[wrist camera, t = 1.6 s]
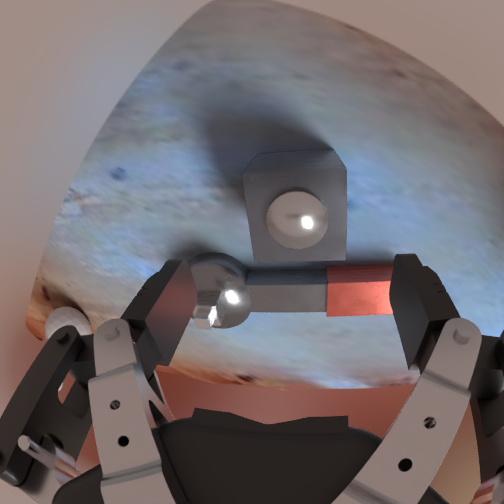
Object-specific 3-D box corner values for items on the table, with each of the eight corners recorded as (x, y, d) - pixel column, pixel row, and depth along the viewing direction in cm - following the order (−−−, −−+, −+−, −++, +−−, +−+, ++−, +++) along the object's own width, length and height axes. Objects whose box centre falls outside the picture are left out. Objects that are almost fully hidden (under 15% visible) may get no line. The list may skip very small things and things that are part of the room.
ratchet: (404, 247, 21) (425, 285, 17) (392, 308, 25) (404, 350, 20) (177, 253, 26) (151, 288, 21) (194, 310, 29) (177, 347, 24)
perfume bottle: (86, 300, 32) (36, 362, 22) (113, 348, 37) (77, 408, 27) (55, 294, 34) (9, 347, 24) (81, 340, 39) (45, 392, 29)
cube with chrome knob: (334, 149, 19) (347, 170, 13) (336, 219, 21) (346, 263, 16) (257, 153, 20) (239, 175, 14) (266, 222, 22) (253, 266, 17)
